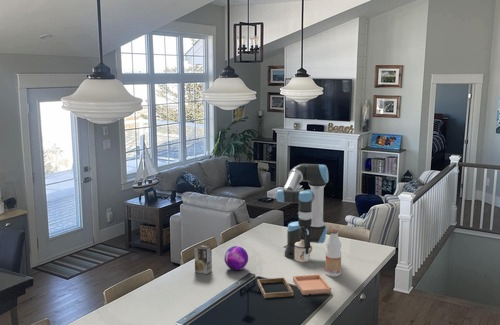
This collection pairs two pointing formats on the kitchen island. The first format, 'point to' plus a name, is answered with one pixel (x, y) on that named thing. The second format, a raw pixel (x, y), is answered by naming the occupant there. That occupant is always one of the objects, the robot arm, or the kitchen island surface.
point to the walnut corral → (277, 294)
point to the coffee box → (203, 259)
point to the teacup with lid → (301, 251)
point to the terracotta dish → (311, 284)
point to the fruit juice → (333, 255)
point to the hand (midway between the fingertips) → (304, 255)
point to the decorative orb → (236, 258)
